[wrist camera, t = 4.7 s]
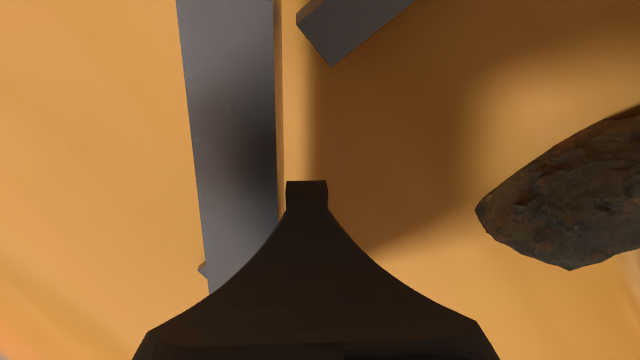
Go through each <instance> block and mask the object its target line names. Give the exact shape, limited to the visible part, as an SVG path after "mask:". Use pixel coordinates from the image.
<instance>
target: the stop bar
mask: <svg viewBox="0 0 640 360" xmlns="http://www.w3.org/2000/svg"><path fill="white" fill-rule="evenodd" d="M414 1H415V0H311V1H310V2H309V3H308V4H307V5H305V6H304V7H303V8H302V9H301V10H300V11H298V12H297V13H296V25H297V26H298V28H299V29H300V30H301V31H302V33H303V34H304V35H305V36H306V37H307V39H308V40H309V41H310V42H311V44H312V45H313V46H314V47H315V49H316V50H317V51H318V52H319V54H320V55H321V56H322V57H323V59H324V60H325V61H326V62H327V63H328V65H329V66H330V67H333V66H334V65H335V64H336V63H338V62H339V61H340V60H341V59H343V58H344V57H345V56H346V55H348V54H349V53H350V52H351V51H353V50H354V49H355V48H356V47H358V46H359V45H360V44H361V43H363V42H364V41H365V40H366V39H368V38H369V37H370V36H371V35H373V34H374V33H375V32H376V31H378V30H379V29H380V28H381V27H383V26H384V25H385V24H386V23H388V22H389V21H390V20H391V19H393V18H394V17H395V16H396V15H398V14H399V13H400V12H401V11H403V10H404V9H405V8H406V7H408V6H409V5H410V4H411V3H413V2H414Z"/></svg>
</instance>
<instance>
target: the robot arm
mask: <svg viewBox="0 0 640 360" xmlns="http://www.w3.org/2000/svg"><path fill="white" fill-rule="evenodd" d="M285 196H286V211H285V213H284V214H283V216H282V218H281V220H280V221H279V223H278V224H277V226H276V227H275V229H274V230H273V231H272V233H271V234H270V236H269V237H268V238H267V240H266V241H265V242H264V244H263V245H262V246H261V247H260V249H259V250H258V251H257V252H256V253H255V254H254V255H253V257H252V258H251V259H250V260H249V261H248V262H247V263H246V264H245V265H244V266H243V267H242V268H241V269H240V270H239V271H238V272H237V273H236V274H235V275H233V276H232V277H231V278H230V279H229V280H228V281H227V282H226V283H225V284H223V285H222V286H221V287H220V288H218V289H217V290H216V291H214V292H213V293H212V294H210V295H209V296H207V297H206V298H205V299H203V300H202V301H200V302H199V303H197V304H196V305H194V306H193V307H191V308H189V309H188V310H186V311H184V312H183V313H181V314H179V315H177V316H176V317H174V318H172V319H170V320H168V321H167V322H165V323H163V324H161V325H159V326H158V327H156V328H154V329H152V330H150V331H148V332H147V333H146V335H145V337H144V339H143V340H142V342H141V344H140V346H139V348H138V349H137V351H136V353H135V355H134V357H133V359H132V360H500V359H499V357H498V355H497V353H496V352H495V350H494V348H493V347H492V345H491V343H490V342H489V340H488V339H487V337H486V336H485V334H484V332H483V331H482V329H481V328H480V326H479V325H478V323H477V322H476V321H475V320H473V319H471V318H468V317H466V316H464V315H462V314H460V313H458V312H455V311H453V310H451V309H449V308H447V307H445V306H442V305H440V304H438V303H436V302H434V301H432V300H431V299H429V298H427V297H425V296H424V295H422V294H420V293H418V292H417V291H415V290H413V289H412V288H410V287H409V286H407V285H405V284H404V283H402V282H401V281H399V280H398V279H397V278H395V277H394V276H392V275H391V274H390V273H388V272H387V271H386V270H384V269H383V268H382V267H380V266H379V265H378V264H377V263H375V262H374V261H373V260H372V259H371V258H370V257H369V256H368V255H367V254H366V253H365V252H364V251H363V250H362V249H361V248H360V247H359V246H358V245H357V244H356V243H355V242H354V241H353V240H352V239H351V237H350V236H349V235H348V234H347V233H346V232H345V230H344V229H343V228H342V227H341V226H340V224H339V223H338V221H337V220H336V219H335V217H334V216H333V215H332V213H331V212H330V210H329V209H328V188H327V183H326V180H321V181H287V182H286V191H285Z"/></svg>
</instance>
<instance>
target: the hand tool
mask: <svg viewBox="0 0 640 360" xmlns="http://www.w3.org/2000/svg"><path fill="white" fill-rule="evenodd" d="M475 212H476V215H477V216H478V219H479V221H480V222H481V224H482V225H483V227H484V229H485V230H486V233H488V234H490V235H491V236H492V237H493V238H494V239H495V240H496V241H498V242H500V243H503V244H505V245H507V246H509V247H511V248H513V249H514V250H515V251H517V252H519V253H520V254H522V255H525V256H528V257H532V258H535V259H538V260H540V261H542V262H545V263H547V264H551V265H556V266H559V267H562V268H564V269H566V270H568V271H571V270H574V269H577V268H580V267H584V266H588V265H592V264H596V263H601V262H603V261H605V260H607V259H609V258H611V257H612V256H614V255H616V254H620V253H623V252H627V251H632V250H636V249H639V248H640V115H638V116H633V117H628V118H625V119H620V120H610V119H603V120H601V121H599V122H597V123H595V124H593V125H591V126H589V127H587V128H585V129H583V130H581V131H579V132H578V133H576V134H574V135H572V136H571V137H569V138H567V139H566V140H564V141H562V142H560V143H559V144H557V145H555V146H554V147H553V148H551V149H550V150H548V151H547V152H545V153H544V154H542V155H541V156H539V157H538V158H536V159H535V160H533V161H532V162H531V163H529V164H528V165H526V166H525V167H524V168H522V169H521V170H519V171H518V172H517V173H515V174H514V175H513V176H512V177H510V178H509V179H508V180H506V181H505V182H504V183H502V184H501V185H500V186H499V187H498V188H496V189H495V190H494V191H493V192H492V193H491V194H489V195H488V196H487V197H486V198H484V199H483V200H482V201H481V202H480V203H479V204H478V205H477V207H476V209H475Z"/></svg>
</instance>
